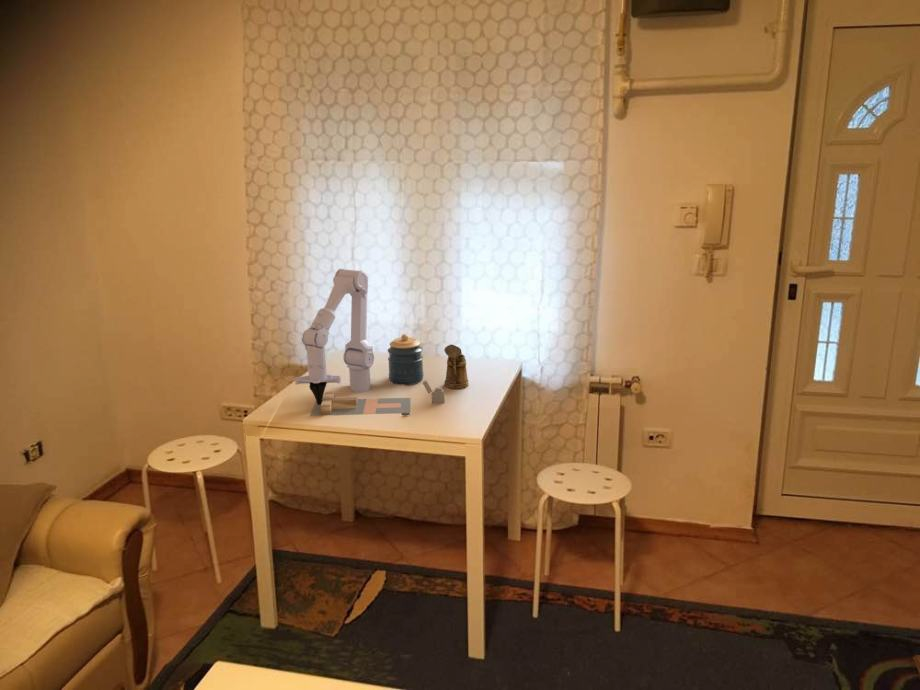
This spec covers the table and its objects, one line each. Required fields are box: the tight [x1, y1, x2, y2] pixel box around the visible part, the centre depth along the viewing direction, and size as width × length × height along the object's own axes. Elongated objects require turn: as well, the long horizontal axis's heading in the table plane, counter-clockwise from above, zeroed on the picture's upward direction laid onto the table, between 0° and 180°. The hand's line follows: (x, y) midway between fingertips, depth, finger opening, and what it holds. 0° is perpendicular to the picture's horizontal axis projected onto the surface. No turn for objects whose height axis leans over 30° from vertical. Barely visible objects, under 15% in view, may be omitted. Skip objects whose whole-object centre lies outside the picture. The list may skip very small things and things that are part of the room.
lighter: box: [422, 380, 445, 405], centre depth 234 cm, size 7×2×8 cm, turn 95°
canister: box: [387, 333, 425, 386], centre depth 256 cm, size 13×13×18 cm
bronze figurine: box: [444, 344, 469, 390], centre depth 247 cm, size 9×14×18 cm, turn 170°
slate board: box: [309, 397, 411, 417], centre depth 230 cm, size 14×32×1 cm, turn 93°
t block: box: [321, 392, 358, 414], centre depth 229 cm, size 12×11×3 cm
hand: (319, 403), depth 229 cm, fingers closed
